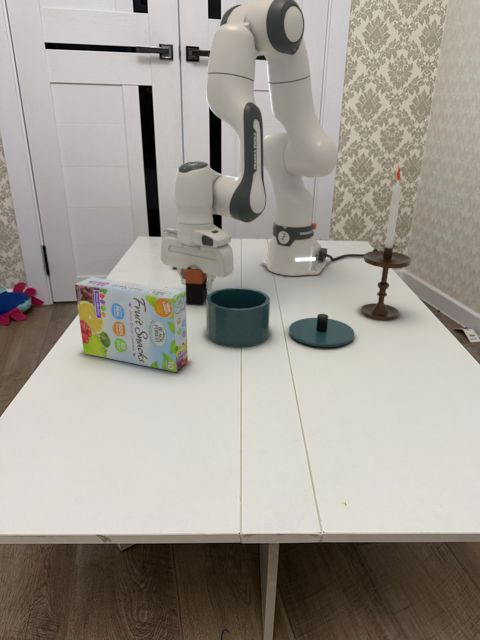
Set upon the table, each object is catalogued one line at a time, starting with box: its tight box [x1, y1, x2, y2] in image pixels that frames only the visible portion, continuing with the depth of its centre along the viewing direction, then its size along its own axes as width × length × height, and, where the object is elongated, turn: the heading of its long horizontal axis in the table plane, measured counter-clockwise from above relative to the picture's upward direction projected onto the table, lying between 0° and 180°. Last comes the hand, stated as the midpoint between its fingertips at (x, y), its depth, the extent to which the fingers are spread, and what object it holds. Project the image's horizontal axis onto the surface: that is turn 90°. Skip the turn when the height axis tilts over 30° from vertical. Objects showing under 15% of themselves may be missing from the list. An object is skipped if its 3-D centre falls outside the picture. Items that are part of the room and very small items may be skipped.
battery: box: [185, 265, 208, 306], centre depth 128 cm, size 4×7×10 cm, turn 175°
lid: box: [288, 313, 355, 348], centre depth 112 cm, size 15×15×5 cm
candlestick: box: [360, 165, 412, 321], centre depth 118 cm, size 11×11×35 cm
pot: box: [205, 287, 271, 348], centre depth 111 cm, size 14×14×8 cm
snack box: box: [74, 276, 189, 373], centre depth 97 cm, size 21×6×15 cm, turn 71°
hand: (196, 286), depth 129 cm, fingers closed on battery, 5 cm apart
